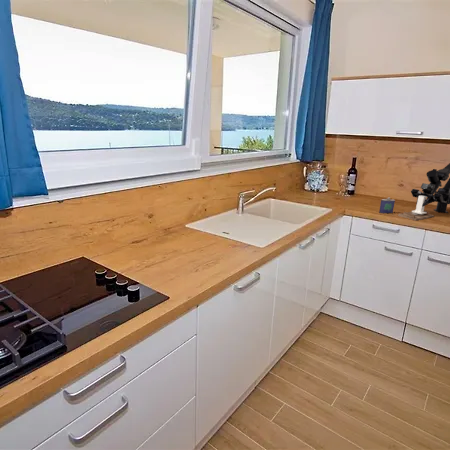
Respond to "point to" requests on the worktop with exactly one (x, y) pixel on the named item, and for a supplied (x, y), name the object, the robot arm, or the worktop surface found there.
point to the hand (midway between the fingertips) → (419, 205)
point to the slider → (420, 205)
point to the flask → (386, 206)
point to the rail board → (415, 215)
